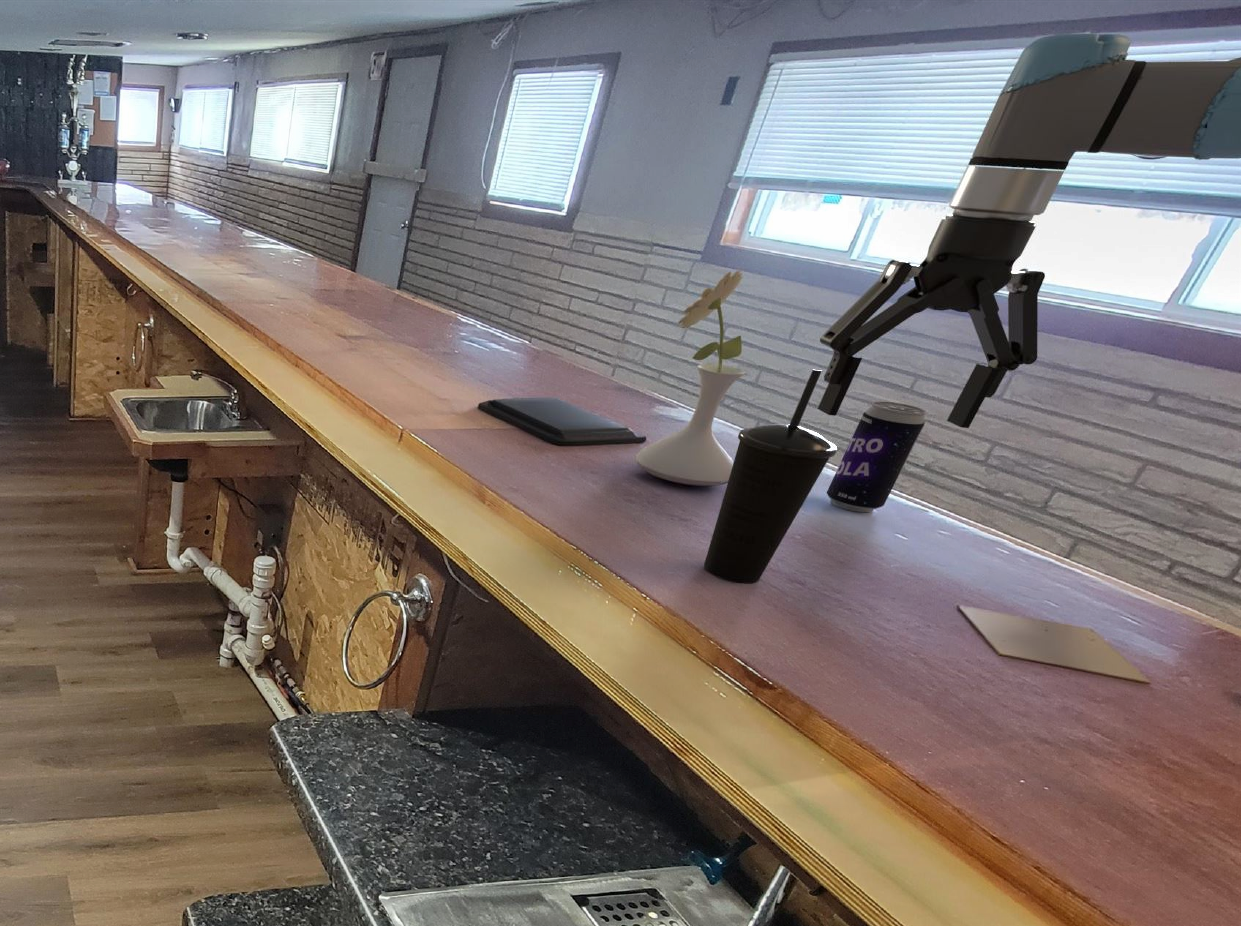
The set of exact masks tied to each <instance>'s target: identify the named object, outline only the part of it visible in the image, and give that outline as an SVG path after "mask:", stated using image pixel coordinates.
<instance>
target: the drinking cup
mask: <svg viewBox="0 0 1241 926" xmlns="http://www.w3.org/2000/svg"><path fill="white" fill-rule="evenodd" d="M822 372H823V370H822V369H817V368H813V369H812V370H811V372H810V375H809V377H808V380H807V382H806V384H805V387H804V389H803V392H802V394H801V397H800V399H799V401H798V403H797V406H796V407H795V411H794V413H793V415H792V418H791V420H790V422H789V424H786V423H785V424H784V423H771V424H763V425H759V426H755V427H748V428H743V429H741V430H740V431H739V432H738V435H737V439H738V440H739V443H738V445H737V446H738V447H737V449H736V452H735V457H734V460H733V462H734V463H733V466H732V470H731V473H730V477H729V480H728V483H726V487H725V491H724V495H723V497H722V501H721V504H720V505H721V506H720V508H719V512H718V516H717V519H716V522H715V526H714V529H713V533H712V537H711V539H710V543H709V547H708V550H707V554H706V557H705V560H704V564H703V568H704V570H705V571H706V572H708V573H709V574H710V575H713V576H714V577H717V578H719V579H722V580H725V581H729V582H733V583H740V584H754V583H757V582H759V581H760V579H761V578H762V575H763V574H764V572H765V570H766V569H767V567H768V565H769V563H770V562H771V560H772V558H773V557H774V555H775V553H776V551H777V550H778V548H779V547H780V545H781V543H782V541H783V540H784V538H785V536H786V534H787V533H788V531H789V529H790V527H791V525H792V524H793V522H794V520H795V518H796V517H797V515H798V513H799V512H800V510H801V508H802V506H803V505H804V503H805V501H806V500H807V498H808V496H809V494H810V493H811V491H812V489H813V488H814V486H815V484H816V483H817V480H818V479H819V477H820V475H821V474H822V471H823V470H824V468H825V467H826V465H827V463H828V461H829V460H830V458H833V457H834V456H835V455H836V454H837V452H838V448H837V446H836V445H835V444H834V443H832V442H830V441H828V440H827V439H826V438H824V437H823V436H822V435H820V434H819V433H817V432H815V431H813V430H810V429H808V428H805V427H802V426H799V425H800V423H801V421H802V418H803V416H804V413H805V411H806V409H807V407H808V404H809V402H810V399H811V397H812V395H813V393H814V390H815V387H816V386H817V383H818V382H819V379H820V376H821V374H822Z"/></svg>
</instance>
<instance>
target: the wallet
mask: <svg viewBox="0 0 1241 926" xmlns="http://www.w3.org/2000/svg"><path fill="white" fill-rule="evenodd" d="M477 408H478V410H481V411H483V412H485V413H487V414H490V415H492V416H494V417H495V418H498V419H500V420H502V421H504V422H506V423H508V424H511V425H513V426H515V427H517V428H518V429H521V430H523V431H525V432H526V433H529V434H531V435H534V436H535V437H538V438H540V439H541V440H544V441H546V442H548V443H549V444H553V445H555V446H562V445H564V446H563V447H566V446H565V445H576V446H592V445H614V444H618V445H619V444H635V443H640V444H641V443H646V441H647V439H648V438H647V436H645V435H643V434H640V433H639V432H636V431H634V430H633V429H631V428H629V427H628V426H626V425H623V424H620V423H619V422H616V421H613V420H611V419H608V418H606V417H604V416H602V415H599V414H596V413H593V412H591V411H588V410H586V409H584V408H582V407H580V406H576V405H574V404H571V403H569V402H566V401H565V400H562V399H559V398H556V397H519V398H518V397H516V398H511V397H510V398H498V399H489V400H485V401H482V402H479V403H478V404H477Z"/></svg>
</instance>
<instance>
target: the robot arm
mask: <svg viewBox="0 0 1241 926" xmlns="http://www.w3.org/2000/svg"><path fill="white" fill-rule="evenodd" d="M1130 46H1131V38H1130V37H1129V36H1127V35H1123V34H1122V35H1121V34H1115V33H1104V34H1102V33H1100V34H1099V33H1068V34H1064V33H1063V34H1054V35H1046V36H1042V37H1040V38H1037V39H1036V40H1034V41H1032V42H1031V43H1030V44H1029V45H1026V47H1025V48H1024V49H1023V50H1022V52H1021V53H1020V55H1019V58H1017V59H1018V60H1017V61H1016V63H1015V65H1014V67H1013V68H1012V70H1011V73H1010V75H1008V76H1009V77H1008V78H1007V80H1006V82H1005V84H1004V85H1003V88H1002V89H1001V91H1000V93H999V95H998V97H997V99H996V102H995V104H994V107H993V109H992V110H991V113H990V115H989V118H988V119H987V122H986V124H985V126H984V128H983V131H982V133H981V135H980V137H979V139H978V142H977V144H976V146H975V148H974V150H973V153H972V155H971V158H970V159H969V161H968V165H966V168H965V170H964V172H963V174H962V177H961V179H960V181H959V183H958V185H957V186H956V189H955V191H954V193H953V195H952V198H951V200H950V202H949V204H948V207H949V209H951V210H953V212H952V213H951V214H946V215H945V217H942V218H941V220H940V221H939V224H938V227H937V229H936V231H935V233H934V235H933V237H932V239H931V241H930V244H929V245H928V249H927V254H926V257H925V258H924V259H923V261H922V262H921V263H920V264H919V265H917V264H912V263H911V262H909V261H903V260H900V259H892V260H890V261H889V262H887V264H886V265H885V267H884V268H883V271H882V272H881V274H880V276H879V277H878V279H877V281H876V282H874V284H872V285H871V286H870V288H868V289H867V290H866V291H865V293H864V294H863V295H862V296H860V298H859V299H858V300H856V302H854V303H853V304H852V305H851V306H850V308H848V309H847V310H846V311H845V312H844V314H842V315H841V316H840V317H839V318H838V320H836V321H835V322H834V323H833V324H832V325H831V326H830V327H829V328H828V329H827V330H826V331H824V333H823V334H821V336H820V338H819V342H820V343H821V344H822V345H824V346H826V347H828V348H829V349H832V351H833V355H832V357H831V360H830V362H829V364H828V366H827V369H826V371H825V373H824V375H823V381H824V382H826V383H828V384H827V386H826V389H825V391H824V393H823V395H822V397H821V400H820V402H819V404H818V407H817V410H818V411H820V412H822V413H824V414H826V415H828V416H833V417H834V416H835V417H836V416H837V414H838V412H839V410H840V408H841V406H842V403H843V402H844V399H845V397H846V395H847V392H848V391H849V388H850V386H851V384H852V382H853V379H854V377H855V375H856V373H857V371H858V369H859V367H860V365H861V362H862V359H863V357H861V356H859V355H857V353H859V352H860V351H862V350H863V349H866V347H868V346H869V345H871V344H872V343H874V342H875V341H877V340H879V339H880V338H881V337H883V336H885V335H886V334H887V333H888V332H890V331H892V330H893V329H895V328H896V327H898V326H900V325H901V324H903V322H905V321H907V320H908V319H910V318H911V317H913V316H914V315H916V314H920V313H922V312H924V311H925V310H927V309H929V310H933V311H940V312H941V311H942V312H944V311H948V310H950V311H954V312H957V313H967V314H968V315H969V316H970V319H971V322H972V324H973V327H974V330H975V332H976V335H977V337H978V340H979V342H980V346H981V348H982V351H983V353H984V356H985V360H986V361H987V363H988V364H986V363H976V364H975V366H974V368H973V370H972V371H971V373H970V375H969V377H968V379H967V381H966V382H965V385H964V387H963V388H962V391H961V392H960V395H959V397H958V398H957V400H956V402H955V404H954V406H953V408H952V410H951V411H950V413H949V415H948V417H947V419H946V421H947V422H949V423H951V424H952V425H955V426H957V427H959V428H961V429H963V428H964V429H969V428H970V426H971V424H972V422H973V421H974V419H975V417H976V415H977V414H978V412H979V409H980V408H981V406H982V405H983V402H984V400H985V399H986V398H990V399H991V398H992V396H994V395H995V394H996V393H997V390H998V389H999V387H1000V384H1001V383H1002V382H1003V380H1004V378H1005V376H1006V374H1007V372H1008V371H1009V372H1010V371H1011V372H1013V371H1016V370H1017V369H1018V368H1019V367H1020V365H1032V364H1034V363H1035V362H1036V361H1037V360H1038V325H1039V324H1038V323H1039V322H1038V314H1039V312H1038V309H1039V308H1038V307H1039V305H1038V302H1039V300H1038V299H1039V298H1038V296H1039V293H1040V290H1041V288H1042V285H1043V282H1044V280H1045V277H1046V274H1045V272H1044V271H1040V270H1036V269H1029V268H1021V269H1019V270H1017V271H1015V270H1013V266H1014V264H1015V262H1016V261H1017V260H1018V259H1019V258H1020V257H1021V256H1022V254H1023V252H1024V251H1025V249H1026V246H1027V245H1028V242H1029V241H1030V239H1031V237H1032V235H1033V234H1034V231H1035V230H1036V227H1037V225H1035V224H1036V222H1035V221H1032V220H1033V219H1034V216H1041V215H1042V214H1044V213H1045V211H1046V210H1047V207H1048V205H1049V203H1050V201H1051V199H1052V197H1053V195H1054V193H1055V191H1056V189H1057V187H1058V185H1059V183H1060V181H1061V179H1062V177H1063V175H1064V173H1065V171H1066V170H1067V167H1068V166H1069V163H1070V160H1071V159H1072V158H1073V156H1074V155H1075V153H1082V152H1083V153H1088V154H1099V153H1100V154H1113V155H1114V154H1115V155H1130V156H1133V157H1136V158H1138V159H1142V160H1160V159H1165V158H1187V159H1188V158H1189V159H1192V158H1193V159H1194V160H1197V161H1198V160H1199V161H1201V160H1203V161H1204V160H1205V161H1206V160H1210V159H1225V160H1227V159H1228V160H1229V159H1231V160H1233V159H1235V160H1237V159H1239V160H1240V159H1241V57H1237V58H1233V59H1228V60H1208V61H1207V60H1202V61H1201V60H1194V61H1193V60H1192V61H1191V60H1190V61H1146V60H1136V59H1127V57H1128V56H1129V54H1128V50H1129V49H1130ZM911 279H913V281H914V285H915V286H914V287H913V288H911V289H910V290H908V291H907V292H905V293H904V294H902V295H901V296H899V297H898V298H897V300H896V302H894V303H893V304H892V305H889V306H888V307H887V308H885V309H884V310H883V311H881V312H880V313H878V314H876V315H875V316H873V315H874V314H875V313H877V312H878V311H879V309H881V308H882V307H883V306H884V305H885V304H886V303H887V302H888V301H889V300H890V299H891V298H892V297H893V296H895V294H896V293H897V292H898V291H899V289H901V287H902V285H906V284H907V283H909V282H910V281H911ZM1004 287H1005V288H1006V290H1007V292H1008V296H1007V307H1008V308H1007V318H1008V319H1007V321H1008V322H1007V323H1008V324H1007V327H1008V329H1007V330H1008V333H1007V334H1008V337H1007V334H1006V331H1005V328H1004V326H1003V323H1002V320H1001V317H1000V315H999V311H1000V307H999V304H998V302H997V299H996V296H995V294H996V293H998V292H999V291H1001V290H1002V289H1003V288H1004ZM872 316H873V318H871V317H872Z"/></svg>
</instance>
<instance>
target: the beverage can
mask: <svg viewBox="0 0 1241 926" xmlns="http://www.w3.org/2000/svg"><path fill="white" fill-rule="evenodd" d="M926 414H927V411H926V410H925V409H923V408H920V407H918V406H914V405H910V404H905V403H900V402H892V401H874V402H872V404H871V406H870V407H869V408H867V410H865V411H864V412H863V413H862V416H861V418H860V420H859V422H858V424H857V426H856V428H855V430H854V433H853V435H852V437H851V439H850V441H849V443H848V446H847V447H846V450H845V452H844V454H843V456H842V458H841V461H840V463H839V465H838V467H837V469H836V472H835V473H834V476H833V478H832V480H831V482H830V484H829V486H828V488H827V490H826V495H827V497H828V498H829V499H830V502H831V504H832V505H834V506H835V507H838V508H841V509H844V510H847V511H848V510H849V511H852V512H857V513H858V512H859V513H870V512H873V511H874V510H876V509H880V508H882V507H884V506H885V504H886V502H887V500H888V498H889V496H890V494H891V492H892V490H893V488H894V486H895V484H896V483H897V481H898V478H899V476H900V474H901V473H902V470H903V468H904V466H905V464H906V462H907V460H908V458H909V456H910V454H911V452H912V450H913V448H914V446H915V444H916V443H917V440H918V438H919V436H920V435H921V433H922V430H923V429H924V426H925V423H926V422H925V415H926Z"/></svg>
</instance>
